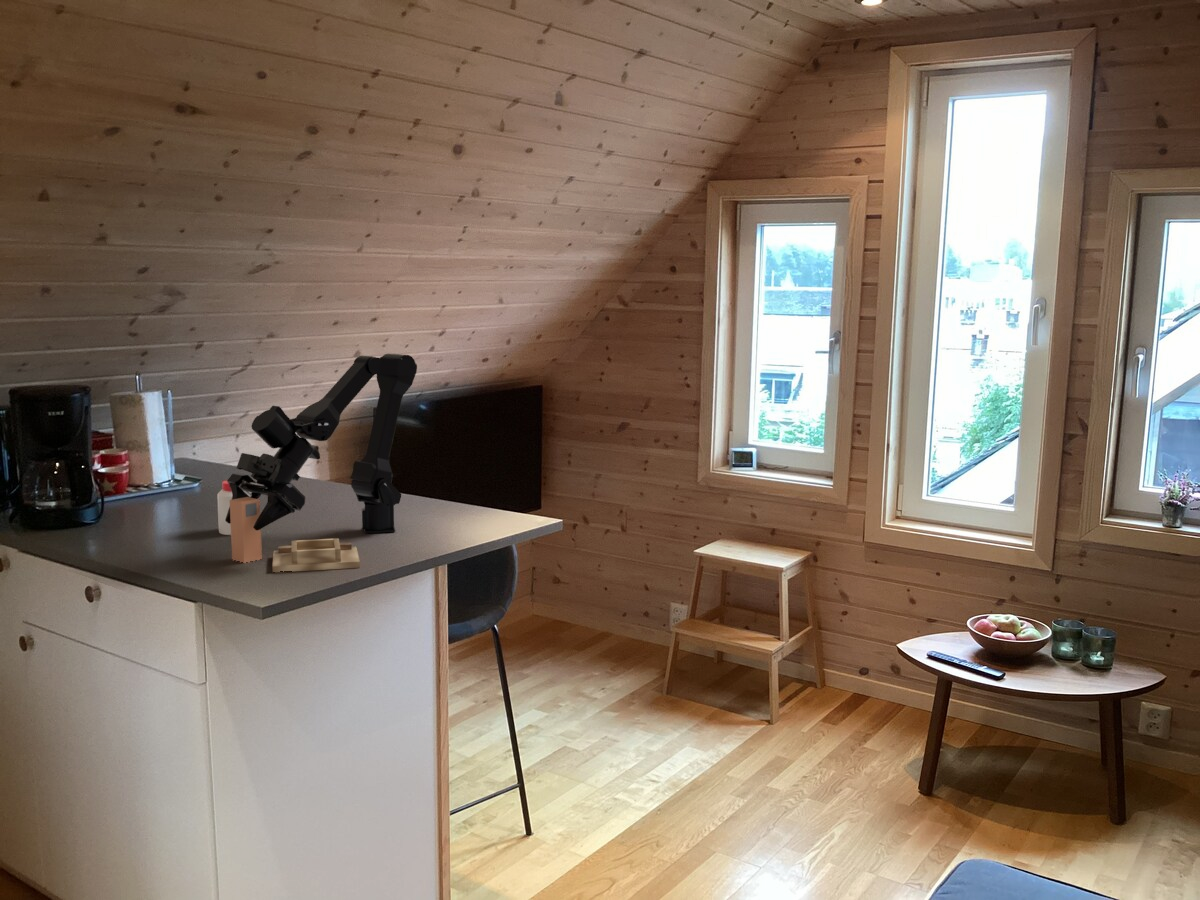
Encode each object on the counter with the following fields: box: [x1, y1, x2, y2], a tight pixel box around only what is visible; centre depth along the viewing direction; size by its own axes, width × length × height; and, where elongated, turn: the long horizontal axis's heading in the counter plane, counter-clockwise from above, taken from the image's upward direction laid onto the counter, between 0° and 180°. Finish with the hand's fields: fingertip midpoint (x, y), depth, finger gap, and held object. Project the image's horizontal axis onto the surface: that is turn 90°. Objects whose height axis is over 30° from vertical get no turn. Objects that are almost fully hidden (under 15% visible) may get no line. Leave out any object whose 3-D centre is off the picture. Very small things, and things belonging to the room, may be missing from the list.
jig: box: [272, 537, 361, 573], centre depth 208 cm, size 16×12×4 cm
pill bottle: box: [216, 480, 232, 536], centre depth 233 cm, size 8×8×11 cm
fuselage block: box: [230, 497, 263, 564], centre depth 209 cm, size 4×4×12 cm
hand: (240, 525), depth 208 cm, fingers open, 9 cm apart
